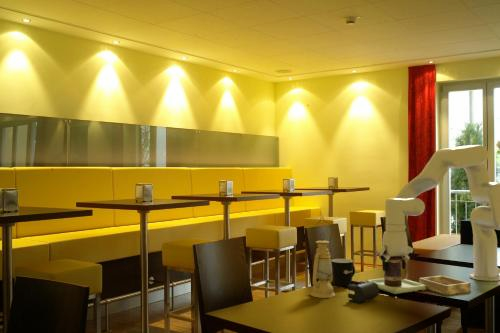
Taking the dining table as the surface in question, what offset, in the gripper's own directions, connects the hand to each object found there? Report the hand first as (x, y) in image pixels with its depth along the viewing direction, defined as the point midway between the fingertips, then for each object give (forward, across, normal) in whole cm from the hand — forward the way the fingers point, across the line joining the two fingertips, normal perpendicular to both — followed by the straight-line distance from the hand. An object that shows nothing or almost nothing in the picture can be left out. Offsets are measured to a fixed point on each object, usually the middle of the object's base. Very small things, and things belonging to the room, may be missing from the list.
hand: (395, 270), depth 205 cm
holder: (+7, -15, +11) cm, 20 cm away
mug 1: (+7, +16, -13) cm, 22 cm away
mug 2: (+6, 0, 0) cm, 7 cm away
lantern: (+7, +34, -1) cm, 35 cm away
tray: (+7, 0, 0) cm, 7 cm away
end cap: (+7, +25, +13) cm, 29 cm away
